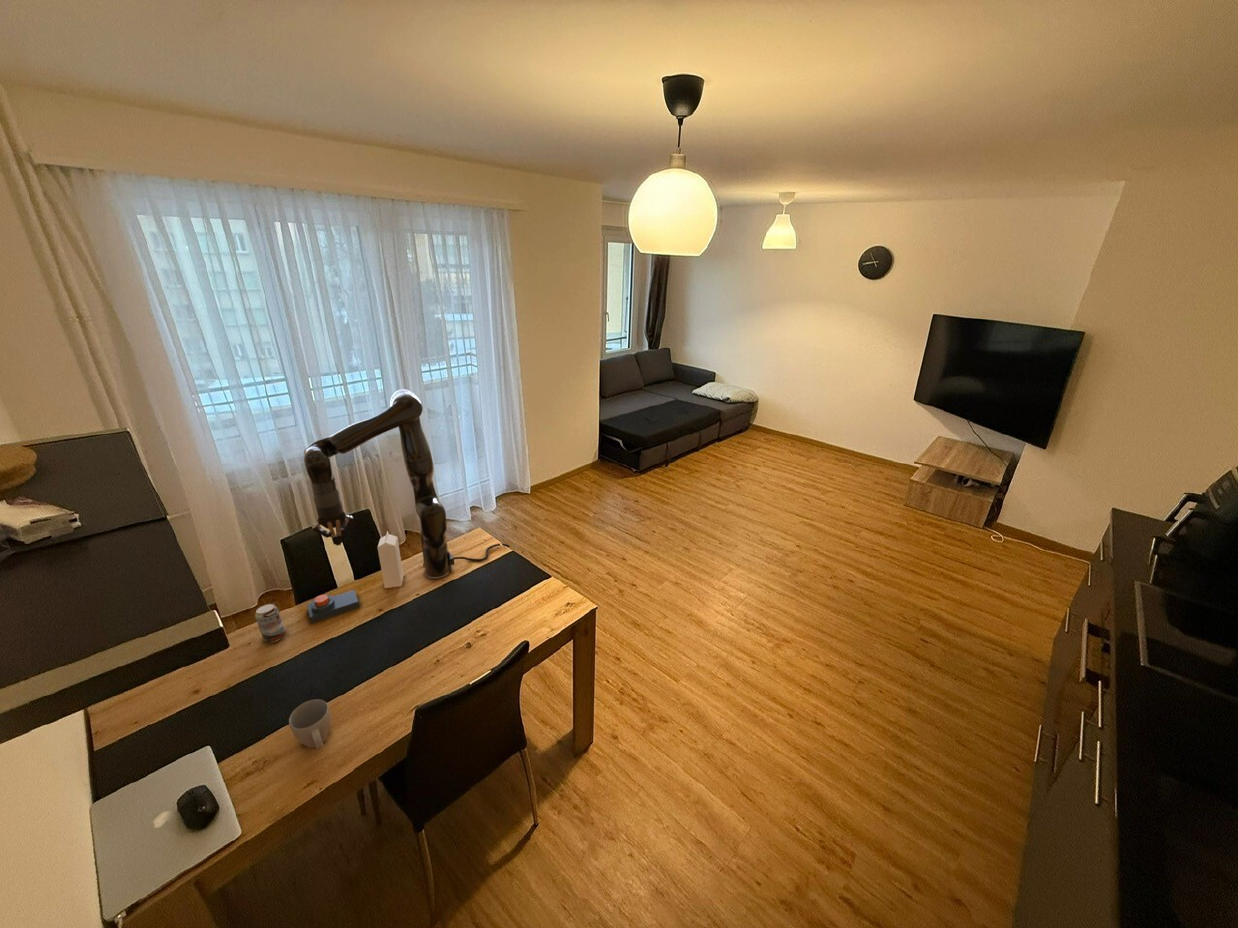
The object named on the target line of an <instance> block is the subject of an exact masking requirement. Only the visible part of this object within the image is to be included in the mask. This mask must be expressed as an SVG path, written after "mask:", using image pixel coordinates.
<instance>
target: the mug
mask: <svg viewBox="0 0 1238 928" xmlns="http://www.w3.org/2000/svg"><path fill="white" fill-rule="evenodd" d="M331 719H332V718H331V710H330V707H329V704H328V703H327V701H325V700H323V699H319V698H315V699H314V698H313V699H310V700H307V701H304V702H302V703H301V704H299V705H298V706H297V707H296V708H295V709H293V711H292V712H291V713H290V716H289V718H288V725H289V728H290V731H291V733H292V734H293V736H294V738H295V739H296V740H297V741H298V742H299V743H300V744H302V745H303V746H305V747H307V748H315V750H317V751H319V750H321V749H323V747H324V742H325V741H326V740H327V738H328V735H329V732H330V728H331Z"/></svg>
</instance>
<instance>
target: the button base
mask: <svg viewBox="0 0 1238 928" xmlns="http://www.w3.org/2000/svg"><path fill="white" fill-rule="evenodd" d="M327 596H328V599H329V603H328V604H326V605H325V606H322V607H317V606H316V604H315V599H313V600H312V601H311V602H310V603H308V604H306V608H307V611H308V616H309V620H310V623H311V624H314V623H317V622H320V621H323V620H326V619H327V618H328V619H329V618H331V617H335V616H337V615H341V614H344V613H347V612H349V611H351V610H356V609H358V608H360V602H359V599H358V596H357V593H356V591H355V589H352V590H348V591H346V592H342V593H339V594H336V595H333V596H331V595H327Z"/></svg>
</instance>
